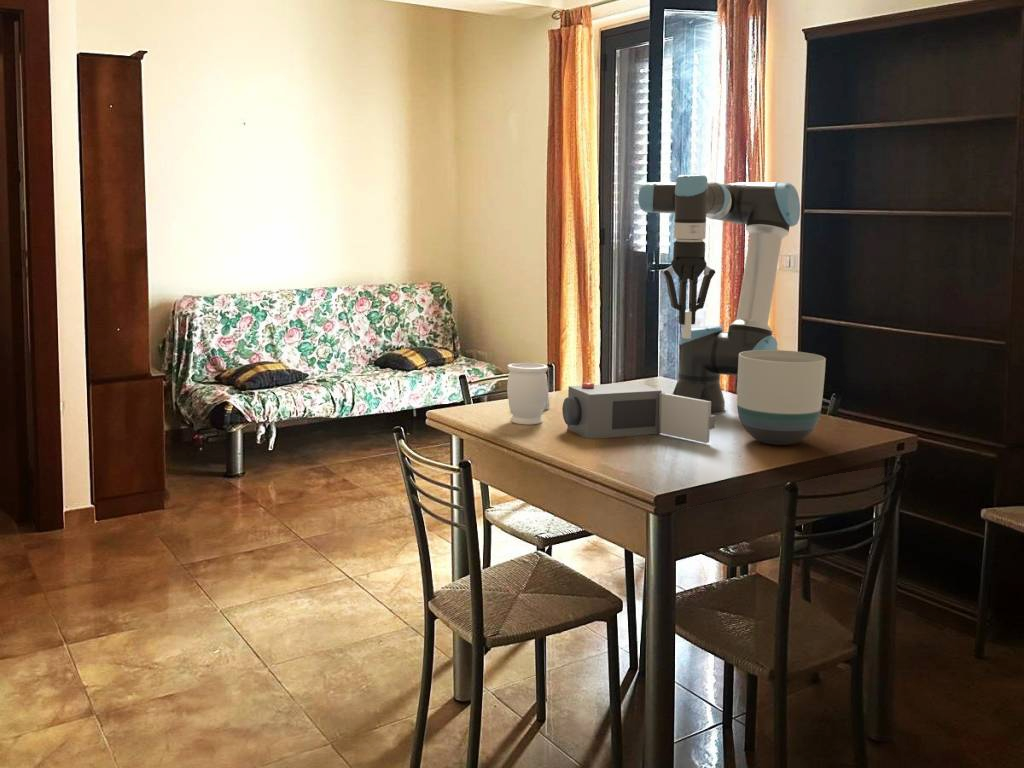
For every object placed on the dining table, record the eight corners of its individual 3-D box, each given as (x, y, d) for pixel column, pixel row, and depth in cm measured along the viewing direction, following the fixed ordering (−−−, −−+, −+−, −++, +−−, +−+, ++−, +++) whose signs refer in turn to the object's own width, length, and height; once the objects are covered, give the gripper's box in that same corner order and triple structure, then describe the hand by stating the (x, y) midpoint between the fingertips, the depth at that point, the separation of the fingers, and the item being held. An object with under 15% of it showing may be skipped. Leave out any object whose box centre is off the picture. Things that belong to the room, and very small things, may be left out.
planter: (717, 436, 268) (722, 351, 264) (786, 431, 275) (791, 348, 271) (765, 455, 249) (771, 363, 245) (837, 449, 257) (844, 360, 253)
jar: (498, 421, 281) (499, 364, 278) (524, 416, 288) (526, 360, 285) (528, 428, 273) (529, 369, 271) (554, 422, 281) (556, 365, 278)
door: (656, 432, 269) (658, 393, 267) (663, 431, 270) (664, 392, 269) (708, 443, 257) (710, 402, 256) (714, 442, 259) (716, 401, 257)
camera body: (636, 424, 281) (638, 378, 279) (660, 433, 269) (662, 386, 267) (560, 429, 272) (561, 382, 270) (580, 439, 261) (582, 391, 259)
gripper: (666, 241, 253) (664, 340, 258) (720, 241, 254) (716, 339, 259) (659, 239, 260) (656, 335, 265) (711, 239, 262) (707, 334, 266)
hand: (686, 337), depth 262 cm, fingers closed
